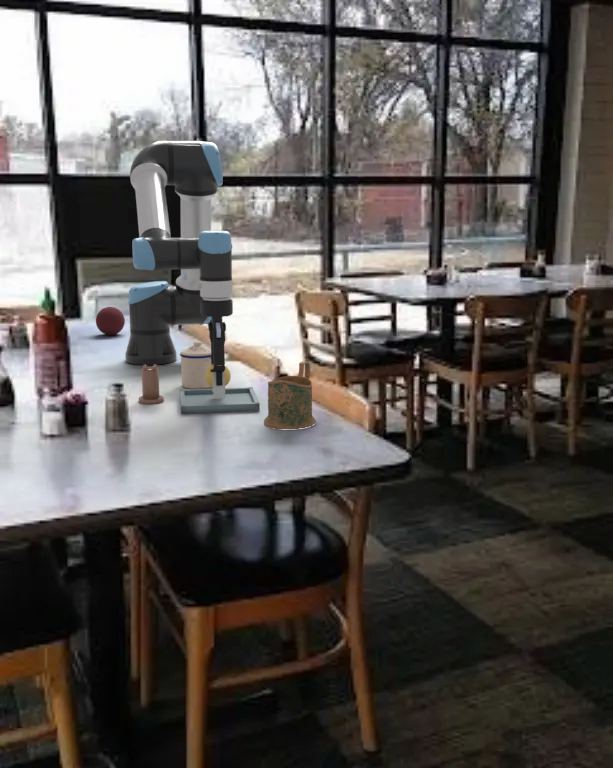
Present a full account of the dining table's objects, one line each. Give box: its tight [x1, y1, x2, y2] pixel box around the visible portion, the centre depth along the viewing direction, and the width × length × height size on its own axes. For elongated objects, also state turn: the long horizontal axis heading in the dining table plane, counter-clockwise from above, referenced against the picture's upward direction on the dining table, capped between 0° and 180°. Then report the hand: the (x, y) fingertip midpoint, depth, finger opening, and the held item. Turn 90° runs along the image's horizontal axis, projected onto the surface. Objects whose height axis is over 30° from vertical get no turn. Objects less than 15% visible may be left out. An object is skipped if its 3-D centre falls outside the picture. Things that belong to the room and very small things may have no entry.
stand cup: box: [138, 364, 165, 405], centre depth 192 cm, size 6×6×9 cm
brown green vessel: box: [263, 360, 317, 430], centre depth 177 cm, size 12×18×12 cm, turn 161°
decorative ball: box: [95, 306, 126, 336], centre depth 281 cm, size 10×10×10 cm
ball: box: [205, 365, 231, 388], centre depth 189 cm, size 6×6×6 cm
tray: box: [179, 386, 261, 415], centre depth 191 cm, size 16×18×2 cm
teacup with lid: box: [179, 341, 213, 390], centre depth 209 cm, size 12×9×12 cm
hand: (218, 394), depth 190 cm, fingers closed on ball, 6 cm apart
